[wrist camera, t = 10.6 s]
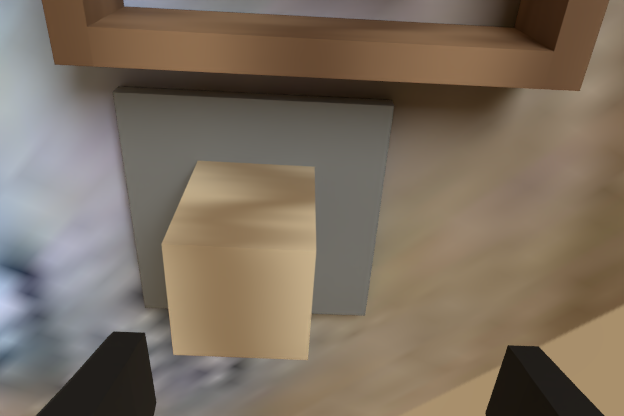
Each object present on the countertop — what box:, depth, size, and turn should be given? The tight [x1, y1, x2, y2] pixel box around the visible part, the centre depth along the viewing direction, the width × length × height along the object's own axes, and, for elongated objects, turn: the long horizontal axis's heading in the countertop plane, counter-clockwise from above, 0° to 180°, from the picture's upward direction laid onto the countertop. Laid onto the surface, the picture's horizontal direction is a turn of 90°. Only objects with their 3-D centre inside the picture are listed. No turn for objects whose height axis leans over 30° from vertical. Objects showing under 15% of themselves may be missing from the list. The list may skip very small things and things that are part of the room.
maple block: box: [161, 161, 316, 360], centre depth 16 cm, size 4×4×5 cm
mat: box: [113, 87, 394, 315], centre depth 19 cm, size 9×9×1 cm
